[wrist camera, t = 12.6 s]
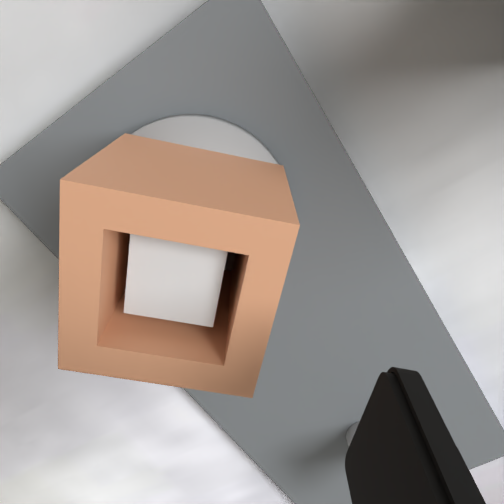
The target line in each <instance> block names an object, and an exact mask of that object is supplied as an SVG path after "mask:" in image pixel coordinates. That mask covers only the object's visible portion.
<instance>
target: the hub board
mask: <svg viewBox="0 0 504 504" xmlns="http://www.w3.org/2000/svg"><path fill="white" fill-rule="evenodd" d="M125 133H126V134H131V135H136V136H141V137H146V138H151V139H156V140H161V141H166V142H171V143H175V144H180V145H185V146H190V147H195V148H200V149H205V150H210V151H215V152H220V153H225V154H229V155H234V156H239V157H244V158H249V159H254V160H259V161H264V162H269V163H274V164H279V165H283V166H284V169H285V173H286V177H287V180H288V184H289V187H290V191H291V195H292V198H293V202H294V205H295V209H296V213H297V216H298V220H299V223H300V227H299V231H298V234H297V238H296V242H295V245H294V249H293V252H292V256H291V260H290V263H289V267H288V271H287V274H286V278H285V282H284V285H283V289H282V293H281V296H280V300H279V303H278V307H277V311H276V314H275V318H274V322H273V325H272V329H271V333H270V336H269V340H268V343H267V347H266V351H265V354H264V358H263V362H262V365H261V369H260V373H259V376H258V380H257V384H256V387H255V391H254V394H253V398H248V397H241V396H234V395H228V394H221V393H215V392H208V391H201V390H195V389H188V388H184V389H185V390H186V391H187V392H188V393H189V394H190V396H191V397H192V398H193V399H194V400H195V401H196V402H197V403H198V404H199V405H200V406H201V407H202V408H203V409H204V410H205V411H206V412H207V413H208V414H209V415H210V416H211V417H212V418H213V419H214V420H215V421H216V422H217V423H218V424H219V426H220V427H221V428H222V429H223V430H224V431H225V432H226V433H227V434H228V435H229V436H230V437H231V438H232V439H233V440H234V441H235V442H236V443H237V444H238V445H239V446H240V447H241V448H242V449H243V450H244V451H245V452H246V453H247V454H248V455H249V457H250V458H251V459H252V460H253V461H254V462H255V463H256V464H257V465H258V466H259V467H260V468H261V469H262V470H263V471H264V472H265V473H266V474H267V475H268V476H269V477H270V478H271V479H272V480H273V481H274V482H275V483H276V484H277V485H278V486H279V488H280V489H281V490H282V491H283V492H284V493H285V494H286V495H287V496H288V497H289V498H290V499H291V500H292V501H293V502H294V503H295V504H352V501H351V496H350V491H349V486H348V481H347V476H346V471H345V457H346V453H347V451H348V448H349V446H350V443H351V441H352V439H353V436H354V434H355V432H356V429H357V427H358V424H359V422H360V420H361V417H362V415H363V413H364V410H365V408H366V405H367V403H368V401H369V398H370V396H371V394H372V391H373V389H374V386H375V384H376V382H377V379H378V377H379V375H380V373H382V372H387V371H388V370H389V369H390V368H391V367H397V368H403V369H408V370H414V371H417V372H419V373H420V375H421V377H422V379H423V381H424V383H425V385H426V387H427V389H428V391H429V393H430V395H431V397H432V399H433V401H434V403H435V405H436V407H437V409H438V411H439V413H440V415H441V417H442V419H443V421H444V423H445V425H446V427H447V429H448V431H449V433H450V435H451V437H452V439H453V441H454V443H455V445H456V446H457V448H458V449H459V451H460V453H461V455H462V457H463V459H464V461H465V463H466V465H467V467H468V469H469V470H470V469H472V468H475V467H477V466H480V465H483V464H485V463H488V462H490V461H493V460H495V459H498V458H500V457H503V456H504V430H503V428H502V426H501V424H500V423H499V421H498V419H497V417H496V416H495V414H494V412H493V410H492V408H491V407H490V405H489V403H488V401H487V400H486V398H485V396H484V394H483V393H482V391H481V389H480V387H479V385H478V384H477V382H476V380H475V378H474V377H473V375H472V373H471V371H470V370H469V368H468V366H467V364H466V362H465V361H464V359H463V357H462V355H461V354H460V352H459V350H458V348H457V347H456V345H455V343H454V341H453V340H452V338H451V336H450V334H449V332H448V331H447V329H446V327H445V325H444V324H443V322H442V320H441V318H440V317H439V315H438V313H437V311H436V309H435V308H434V306H433V304H432V302H431V301H430V299H429V297H428V295H427V294H426V292H425V290H424V288H423V286H422V285H421V283H420V281H419V279H418V278H417V276H416V274H415V272H414V271H413V269H412V267H411V265H410V264H409V262H408V260H407V258H406V256H405V255H404V253H403V251H402V249H401V248H400V246H399V244H398V242H397V241H396V239H395V237H394V235H393V233H392V232H391V230H390V228H389V226H388V225H387V223H386V221H385V219H384V218H383V216H382V214H381V212H380V210H379V209H378V207H377V205H376V203H375V202H374V200H373V198H372V196H371V195H370V193H369V191H368V189H367V188H366V186H365V184H364V182H363V180H362V179H361V177H360V175H359V173H358V172H357V170H356V168H355V166H354V165H353V163H352V161H351V159H350V157H349V156H348V154H347V152H346V150H345V149H344V147H343V145H342V143H341V142H340V140H339V138H338V136H337V135H336V133H335V131H334V129H333V127H332V126H331V124H330V122H329V120H328V119H327V117H326V115H325V113H324V112H323V110H322V108H321V106H320V104H319V103H318V101H317V99H316V97H315V96H314V94H313V92H312V90H311V89H310V87H309V85H308V83H307V81H306V80H305V78H304V76H303V74H302V73H301V71H300V69H299V67H298V66H297V64H296V62H295V60H294V59H293V57H292V55H291V53H290V51H289V50H288V48H287V46H286V44H285V43H284V41H283V39H282V37H281V36H280V34H279V32H278V30H277V28H276V27H275V25H274V23H273V21H272V20H271V18H270V16H269V14H268V13H267V11H266V9H265V7H264V5H263V4H262V2H261V0H208V1H207V2H206V3H204V4H203V5H202V6H201V7H199V8H198V9H197V10H195V11H194V12H193V13H192V14H190V15H189V16H188V17H187V18H185V19H184V20H183V21H182V22H180V23H179V24H178V25H176V26H175V27H174V28H173V29H171V30H170V31H169V32H168V33H166V34H165V35H164V36H163V37H161V38H160V39H159V40H157V41H156V42H155V43H154V44H152V45H151V46H150V47H149V48H147V49H146V50H145V51H144V52H142V53H141V54H140V55H139V56H137V57H136V58H135V59H133V60H132V61H131V62H130V63H128V64H127V65H126V66H125V67H123V68H122V69H121V70H120V71H118V72H117V73H116V74H114V75H113V76H112V77H111V78H109V79H108V80H107V81H106V82H104V83H103V84H102V85H101V86H99V87H98V88H97V89H95V90H94V91H93V92H92V93H90V94H89V95H88V96H87V97H85V98H84V99H83V100H82V101H80V102H79V103H78V104H77V105H75V106H74V107H73V108H71V109H70V110H69V111H68V112H66V113H65V114H64V115H63V116H61V117H60V118H59V119H58V120H56V121H55V122H54V123H52V124H51V125H50V126H49V127H47V128H46V129H45V130H44V131H42V132H41V133H40V134H39V135H37V136H36V137H35V138H33V139H32V140H31V141H30V142H28V143H27V144H26V145H25V146H23V147H22V148H21V149H20V150H18V151H17V152H16V153H15V154H13V155H12V156H11V157H9V158H8V159H7V160H6V161H4V162H3V163H2V164H1V165H0V199H1V200H2V201H3V202H4V203H5V204H6V205H7V206H8V207H9V208H10V210H11V211H12V212H13V213H14V214H15V215H16V216H17V217H18V218H19V219H20V220H21V221H22V222H23V223H24V224H25V225H26V226H27V227H28V228H29V229H30V230H31V231H32V232H33V233H34V234H35V235H36V236H37V237H38V238H39V239H40V241H41V242H42V243H43V244H44V245H45V246H46V247H47V248H48V249H49V250H50V251H51V252H52V253H53V254H54V255H55V256H56V257H57V258H58V259H59V222H60V179H61V178H63V177H64V176H65V175H67V174H68V173H70V172H71V171H72V170H74V169H75V168H77V167H78V166H79V165H81V164H82V163H84V162H85V161H87V160H88V159H89V158H91V157H92V156H94V155H95V154H96V153H98V152H99V151H101V150H102V149H104V148H105V147H106V146H108V145H109V144H111V143H112V142H113V141H115V140H116V139H118V138H119V137H120V136H122V135H123V134H125ZM234 258H235V253H233V252H228V251H222V250H217V249H211V248H206V247H200V246H195V245H189V244H184V243H179V242H173V241H168V240H162V239H157V238H151V237H146V236H140V235H135V234H130V243H129V255H128V267H127V278H126V290H125V302H124V313H127V314H134V315H140V316H146V317H152V318H158V319H164V320H171V321H177V322H183V323H189V324H195V325H201V326H208V327H213V324H214V319H215V314H216V309H217V304H218V299H219V294H220V289H221V284H222V279H223V274H224V270H228V271H232V268H233V263H234Z"/></svg>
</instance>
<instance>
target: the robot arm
mask: <svg viewBox="0 0 504 504" xmlns="http://www.w3.org/2000/svg"><path fill="white" fill-rule="evenodd" d="M345 471H346V476H347V481H348V486H349V491H350V496H351V501H352V504H486V503H485V501H484V499H483V497H482V495H481V493H480V491H479V489H478V487H477V485H476V483H475V481H474V479H473V477H472V475H471V473H470V471H469V469H468V467H467V465H466V463H465V461H464V459H463V457H462V455H461V453H460V451H459V449H458V448H457V446H456V445H455V443H454V441H453V439H452V437H451V435H450V433H449V431H448V429H447V427H446V425H445V423H444V421H443V419H442V417H441V415H440V413H439V411H438V409H437V407H436V405H435V403H434V401H433V399H432V397H431V395H430V393H429V391H428V389H427V387H426V385H425V383H424V381H423V379H422V377H421V375H420V373H419V372H417V371H414V370H408V369H403V368H397V367H391V368H390V369H389V370H388V371H387V372H382V373H380V375H379V377H378V379H377V382H376V384H375V386H374V389H373V391H372V394H371V396H370V398H369V401H368V403H367V405H366V408H365V410H364V413H363V415H362V417H361V420H360V422H359V424H358V427H357V429H356V432H355V434H354V436H353V439H352V441H351V443H350V446H349V448H348V451H347V453H346V457H345Z"/></svg>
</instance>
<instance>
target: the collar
mask: <svg viewBox="0 0 504 504" xmlns="http://www.w3.org/2000/svg"><path fill="white" fill-rule="evenodd" d="M299 227H300V223H299V220H298V216H297V213H296V209H295V205H294V202H293V198H292V195H291V191H290V187H289V184H288V180H287V177H286V173H285V169H284V166H283V165H279V164H274V163H269V162H264V161H259V160H254V159H249V158H244V157H239V156H234V155H229V154H225V153H220V152H215V151H210V150H205V149H200V148H195V147H190V146H185V145H180V144H175V143H171V142H166V141H161V140H156V139H151V138H146V137H141V136H136V135H131V134H126V133H125V134H123V135H122V136H120V137H119V138H118V139H116V140H115V141H113V142H112V143H111V144H109V145H108V146H106V147H105V148H104V149H102V150H101V151H99V152H98V153H96V154H95V155H94V156H92V157H91V158H89V159H88V160H87V161H85V162H84V163H82V164H81V165H79V166H78V167H77V168H75V169H74V170H72V171H71V172H70V173H68V174H67V175H65V176H64V177H63V178H61V179H60V222H59V320H58V369H62V370H69V371H76V372H82V373H89V374H96V375H102V376H109V377H115V378H122V379H129V380H135V381H142V382H148V383H155V384H162V385H168V386H175V387H182V388H188V389H195V390H201V391H208V392H215V393H221V394H228V395H234V396H241V397H248V398H253V394H254V391H255V387H256V384H257V380H258V376H259V373H260V369H261V365H262V362H263V358H264V354H265V351H266V347H267V343H268V340H269V336H270V333H271V329H272V325H273V322H274V318H275V314H276V311H277V307H278V303H279V300H280V296H281V293H282V289H283V285H284V282H285V278H286V274H287V271H288V267H289V263H290V260H291V256H292V252H293V249H294V245H295V242H296V238H297V234H298V231H299ZM130 234H135V235H140V236H146V237H151V238H157V239H162V240H168V241H173V242H179V243H184V244H189V245H195V246H200V247H206V248H211V249H217V250H222V251H228V252H233V253H235V258H234V263H233V268H232V271H228V270H224V274H223V279H222V284H221V289H220V294H219V299H218V304H217V309H216V314H215V319H214V324H213V327H208V326H201V325H195V324H189V323H183V322H177V321H171V320H164V319H158V318H152V317H146V316H140V315H134V314H127V313H124V302H125V290H126V278H127V267H128V255H129V243H130Z"/></svg>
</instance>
